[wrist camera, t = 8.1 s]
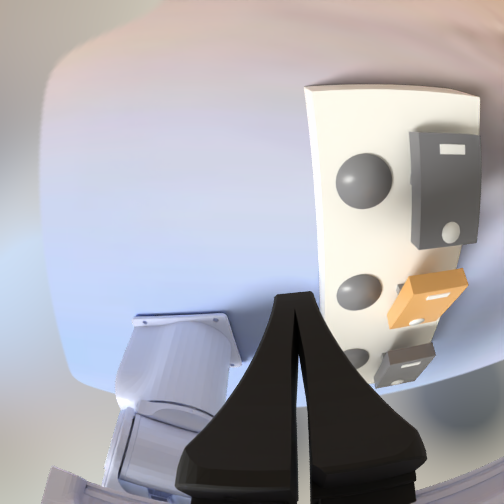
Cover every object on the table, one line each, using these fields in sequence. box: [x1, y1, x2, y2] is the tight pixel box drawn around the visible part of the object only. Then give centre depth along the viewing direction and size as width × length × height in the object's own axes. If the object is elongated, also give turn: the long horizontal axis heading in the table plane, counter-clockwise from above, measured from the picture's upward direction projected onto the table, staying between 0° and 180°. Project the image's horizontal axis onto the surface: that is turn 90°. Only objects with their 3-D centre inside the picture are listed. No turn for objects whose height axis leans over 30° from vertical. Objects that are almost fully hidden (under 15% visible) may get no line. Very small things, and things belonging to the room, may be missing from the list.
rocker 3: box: [374, 342, 436, 389], centre depth 22 cm, size 6×4×1 cm, turn 9°
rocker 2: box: [387, 268, 468, 329], centre depth 18 cm, size 6×4×1 cm, turn 9°
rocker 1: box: [409, 132, 481, 250], centre depth 13 cm, size 6×4×1 cm, turn 9°
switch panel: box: [304, 84, 480, 384], centre depth 22 cm, size 31×10×4 cm, turn 9°
